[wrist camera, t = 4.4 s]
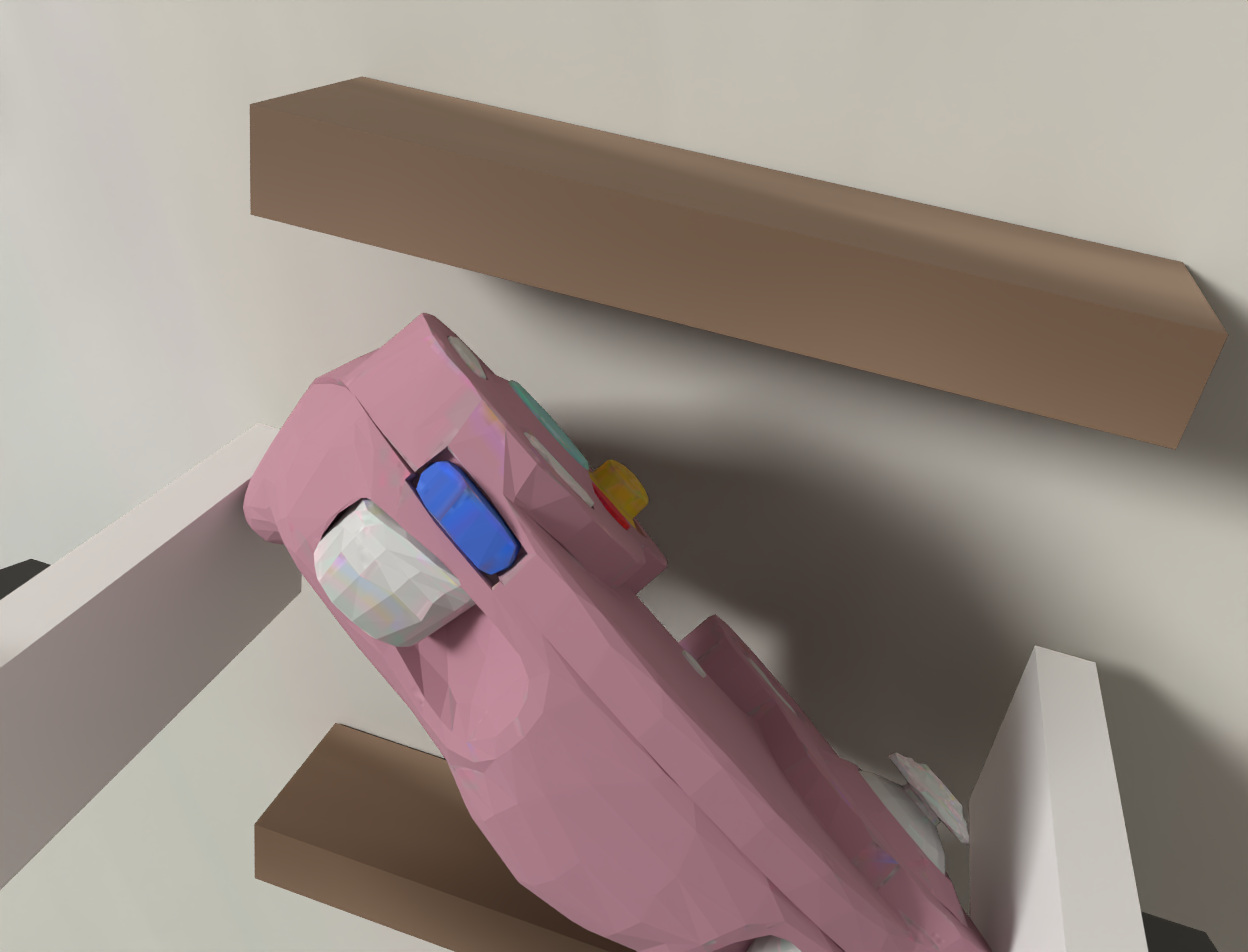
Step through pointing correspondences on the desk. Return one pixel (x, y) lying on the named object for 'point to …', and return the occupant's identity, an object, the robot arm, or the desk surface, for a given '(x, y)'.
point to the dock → (694, 296)
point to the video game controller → (587, 676)
